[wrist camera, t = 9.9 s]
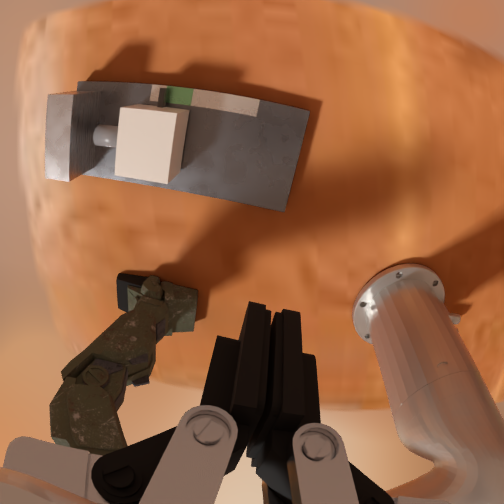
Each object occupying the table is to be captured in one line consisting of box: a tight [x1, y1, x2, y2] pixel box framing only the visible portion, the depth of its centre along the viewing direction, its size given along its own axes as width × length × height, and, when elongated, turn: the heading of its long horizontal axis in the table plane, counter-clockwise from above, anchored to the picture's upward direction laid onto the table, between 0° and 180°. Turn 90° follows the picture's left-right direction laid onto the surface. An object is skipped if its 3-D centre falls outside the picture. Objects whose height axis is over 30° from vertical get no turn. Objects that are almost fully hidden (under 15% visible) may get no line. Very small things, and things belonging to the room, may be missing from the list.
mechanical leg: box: [50, 273, 198, 456], centre depth 27 cm, size 14×7×30 cm, turn 79°
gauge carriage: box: [93, 88, 189, 184], centre depth 25 cm, size 8×8×4 cm
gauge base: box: [45, 81, 310, 212], centre depth 26 cm, size 23×10×6 cm, turn 79°
